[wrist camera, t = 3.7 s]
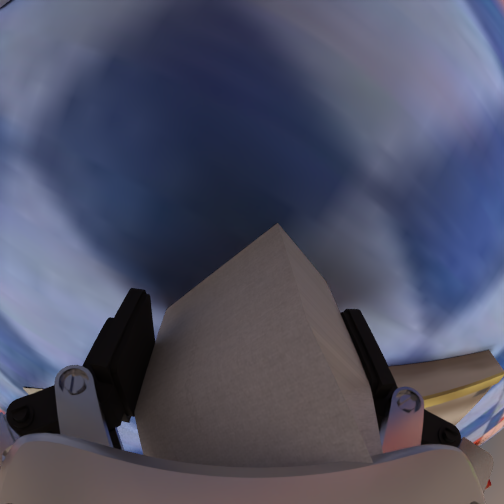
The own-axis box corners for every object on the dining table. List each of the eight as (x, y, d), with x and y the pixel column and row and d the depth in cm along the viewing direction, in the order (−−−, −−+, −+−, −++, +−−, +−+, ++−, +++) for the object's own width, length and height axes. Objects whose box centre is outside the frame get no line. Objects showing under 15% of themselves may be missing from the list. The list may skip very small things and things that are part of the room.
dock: (373, 367, 16) (403, 443, 10) (488, 350, 17) (518, 393, 11) (301, 464, 23) (307, 508, 18) (402, 446, 25) (414, 481, 19)
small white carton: (166, 308, 13) (110, 514, 4) (277, 222, 11) (352, 507, 2) (218, 350, 14) (207, 536, 5) (326, 281, 12) (408, 499, 3)
